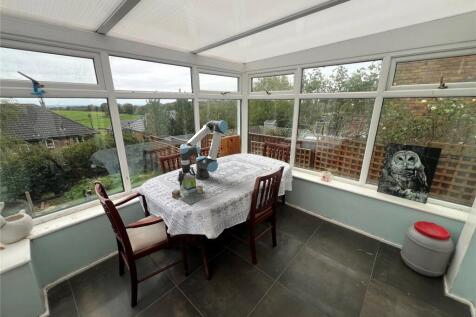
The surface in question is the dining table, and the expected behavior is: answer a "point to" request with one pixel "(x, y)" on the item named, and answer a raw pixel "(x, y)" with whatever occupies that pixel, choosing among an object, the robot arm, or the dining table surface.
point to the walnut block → (176, 193)
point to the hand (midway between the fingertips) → (187, 185)
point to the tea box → (189, 183)
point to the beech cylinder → (200, 189)
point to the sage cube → (185, 193)
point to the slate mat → (192, 198)
